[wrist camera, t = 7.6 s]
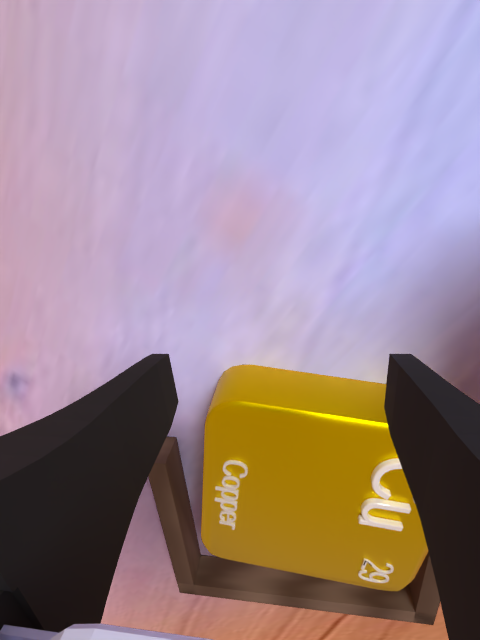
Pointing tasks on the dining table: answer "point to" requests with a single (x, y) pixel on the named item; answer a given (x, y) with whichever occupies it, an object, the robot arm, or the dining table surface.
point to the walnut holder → (269, 583)
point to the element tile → (308, 479)
